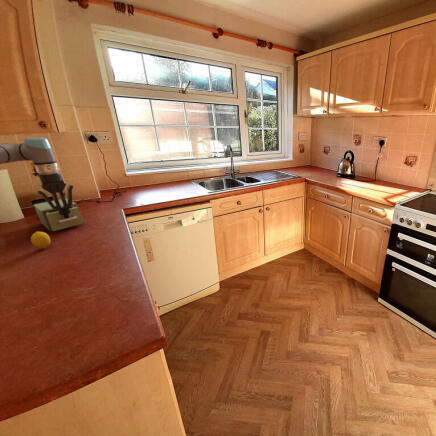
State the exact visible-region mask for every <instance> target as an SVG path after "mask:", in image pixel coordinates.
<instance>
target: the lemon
mask: <svg viewBox="0 0 436 436" xmlns="http://www.w3.org/2000/svg"><path fill="white" fill-rule="evenodd" d="M30 241H31V244H32V246H34V247H35V248H38V249H47V247H48V246H49V245H50V244H51V237H50V236H49V234H48V233H46V232H44V231H39V230H38V231H35V232H34V233H32V235H31V236H30Z"/></svg>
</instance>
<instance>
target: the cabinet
mask: <svg viewBox="0 0 436 436" xmlns="http://www.w3.org/2000/svg"><path fill="white" fill-rule="evenodd" d="M65 199H66V202H67V203H68V198H66V197H65ZM58 200H59V203H60V205H61V208H63V207H64V205H63V203H62V200H61V198H60V199H58ZM51 202H52V203H53V204H54V206H56V204H55V202H54V200H51ZM71 206H74V207H78V204H77V203H76V202H74V201H72V205H71ZM33 207H34V210H35V212H36V214H37V216H38V219H39V220H40V223H41V225H43V226H44V227H45V229H47V230H48V231H53V230H52V228H51V226H50V225H49V223H48V221H47V218H46V216H45V214H44V212H46V211H51V210H55V209H53V208H51V206H50V205H49V204H48V203H47V201H45V202H40V203H35V204H33Z"/></svg>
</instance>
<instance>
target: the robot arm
mask: <svg viewBox="0 0 436 436" xmlns="http://www.w3.org/2000/svg"><path fill="white" fill-rule="evenodd" d="M25 161H26V162H27V161H29V162H31V161H32V164H33V166H34V169H35V171H36V173H37V174H38V178H39V181H40V183H41V188H39V189H37V190H36V193H38V194H39V195H40V196H41V197H42V198H43V199H44V200H45V202H47V203H48V204H49V205H50V206H51V208H53V209H58V211H59V214H60V215H63V216H64V218H65V219H68V218H69V215H68V214H70V210H69V206H71V205H72V202H73V188H74V186H73V185H72V184H68V183H66V182H65V181H64V179H63V176H62V173H61V172H60V168H59V166H58V163H57V160H56V158H55V155H54V152H53V150H52V146H51V143H49V140H48V139H47V138H46V137H26V138H24V139H23V142H15V143H14V142H13V143H12V142H11V143H10V142H8V143H7V142H6V143H0V165H2V164H9V163H15V162H16V163H17V162H25ZM65 188H66V195H65V196H64V190H65ZM46 192H48V193H50V194H51V197H52V200H53V201H54V202H55V204H56V206H54V204H53V203H52V202H51V201H52V200H51V199H50V198H49V197H48V195H47V194H46ZM57 193H58V195H59V198H60V199H61V200H62V203H63V205H64V207H63V208H61V205H60V203H59V200H60V199H59V198H58V196H57ZM66 197H67V199H68V203H67V202H66V199H65V198H66Z"/></svg>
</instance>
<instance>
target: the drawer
mask: <svg viewBox="0 0 436 436" xmlns="http://www.w3.org/2000/svg"><path fill="white" fill-rule="evenodd" d="M69 210H70V214H68V215H69V218H68V219H65V218H64V216H63V215H60V214H59V211H58V209H55V210H51V211H46V212H44V214H45V216H46V218H47V221H48V223H49V225H50V226H51V228H52V230H51V231H52V232H56V231H60V230H64V229H67V228H71V227H75V226H78V225H82V224H85V221H84V218H83V216H82V213H81V209H80V207H79V206H77V207H74V206H69Z"/></svg>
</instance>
